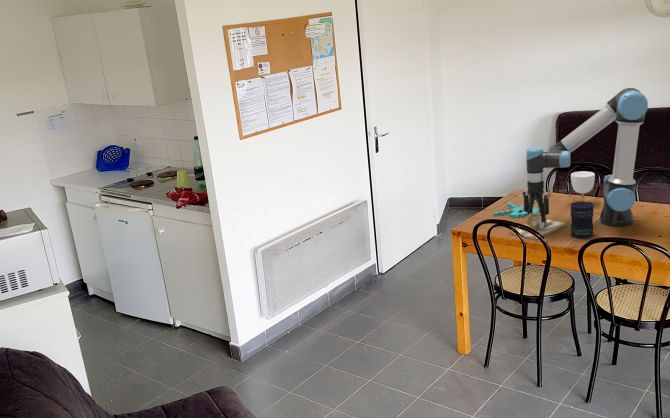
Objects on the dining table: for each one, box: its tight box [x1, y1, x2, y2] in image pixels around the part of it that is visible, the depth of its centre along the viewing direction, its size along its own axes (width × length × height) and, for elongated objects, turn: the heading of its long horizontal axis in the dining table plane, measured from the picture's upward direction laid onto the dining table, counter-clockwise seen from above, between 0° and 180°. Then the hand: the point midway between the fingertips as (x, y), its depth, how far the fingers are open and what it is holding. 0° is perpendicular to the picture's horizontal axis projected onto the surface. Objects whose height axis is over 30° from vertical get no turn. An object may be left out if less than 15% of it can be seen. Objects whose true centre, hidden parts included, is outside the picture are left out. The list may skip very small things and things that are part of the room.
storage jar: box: [570, 201, 594, 240], centre depth 304 cm, size 10×10×15 cm
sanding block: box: [525, 212, 548, 231], centre depth 317 cm, size 5×9×6 cm, turn 129°
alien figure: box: [492, 202, 540, 219], centre depth 348 cm, size 20×2×20 cm
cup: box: [570, 170, 596, 202], centre depth 345 cm, size 12×12×17 cm
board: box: [508, 218, 567, 239], centre depth 319 cm, size 15×24×2 cm, turn 128°
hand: (536, 227), depth 317 cm, fingers closed on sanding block, 5 cm apart
